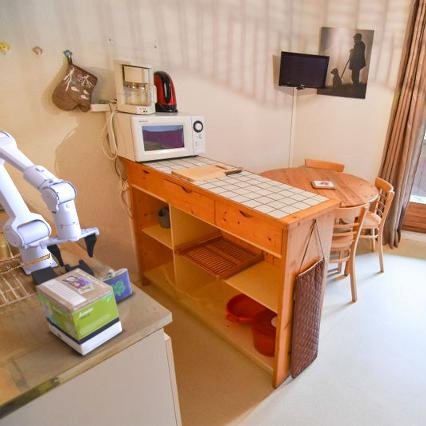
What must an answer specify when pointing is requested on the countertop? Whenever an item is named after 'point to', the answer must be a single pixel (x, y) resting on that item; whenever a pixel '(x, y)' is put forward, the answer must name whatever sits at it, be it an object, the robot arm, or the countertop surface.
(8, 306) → the countertop surface
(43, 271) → the tongue pad
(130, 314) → the countertop surface
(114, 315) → the tea box
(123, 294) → the flask
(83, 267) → the slot pad
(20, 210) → the robot arm
